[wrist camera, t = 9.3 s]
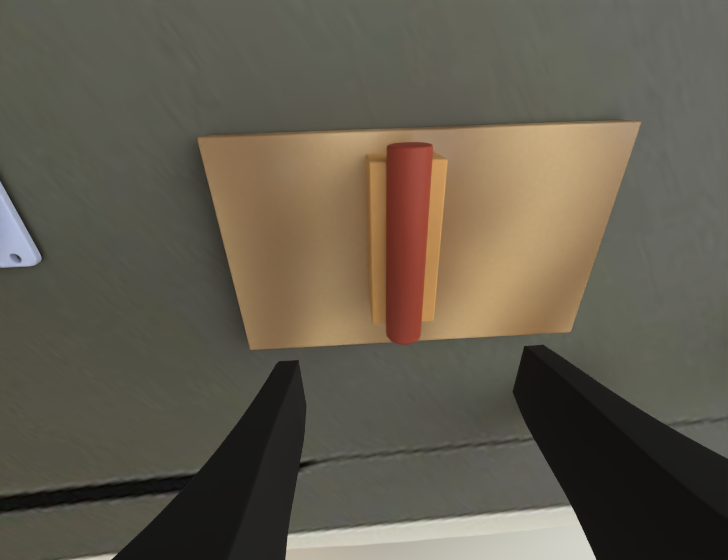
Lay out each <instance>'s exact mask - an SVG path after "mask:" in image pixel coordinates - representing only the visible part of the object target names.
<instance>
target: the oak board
mask: <svg viewBox="0 0 728 560" xmlns="http://www.w3.org/2000/svg"><path fill="white" fill-rule="evenodd" d="M640 125H641V122H640V121H633V120H604V121H576V122H549V123H522V124H494V125H467V126H439V127H412V128H384V129H357V130H330V131H302V132H275V133H247V134H220V135H205V136H201V137H198V138H197V141H198V145H199V149H200V153H201V156H202V160H203V164H204V168H205V172H206V176H207V180H208V184H209V188H210V192H211V196H212V200H213V204H214V208H215V212H216V216H217V220H218V224H219V228H220V232H221V236H222V240H223V244H224V248H225V252H226V256H227V260H228V264H229V267H230V271H231V275H232V279H233V283H234V287H235V291H236V295H237V299H238V303H239V307H240V311H241V315H242V319H243V323H244V327H245V331H246V335H247V339H248V343H249V347H250V350H259V349H277V348H295V347H313V346H331V345H349V344H367V343H385V342H392V341H391V340H390V339H389V338H388V337H387V335H386V324H373V323H372V318H371V309H370V299H369V260H368V221H367V181H366V155H367V154H386V148H387V145H389V144H393V143H401V142H424V143H430V144H432V145H433V152H436V153H437V154H439V155H441V156H442V157H444V158H446V159H447V160H448V163H447V174H446V185H445V197H444V208H443V220H442V231H441V242H440V254H439V265H438V276H437V288H436V299H435V310H434V320H433V321H427V322H422V324H421V336H420V338H419V339H418V340H417V341H420V340H438V339H456V338H474V337H492V336H510V335H528V334H546V333H564V332H570V331H571V329H572V326H573V323H574V320H575V317H576V314H577V311H578V308H579V305H580V302H581V299H582V296H583V293H584V290H585V288H586V285H587V282H588V279H589V276H590V273H591V270H592V267H593V264H594V261H595V258H596V255H597V252H598V249H599V246H600V243H601V240H602V237H603V234H604V231H605V229H606V226H607V223H608V220H609V217H610V214H611V211H612V208H613V205H614V202H615V199H616V196H617V193H618V190H619V187H620V184H621V181H622V178H623V175H624V172H625V170H626V167H627V164H628V161H629V158H630V155H631V152H632V149H633V146H634V143H635V140H636V137H637V134H638V131H639V128H640Z"/></svg>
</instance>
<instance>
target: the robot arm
mask: <svg viewBox="0 0 728 560" xmlns="http://www.w3.org/2000/svg"><path fill="white" fill-rule="evenodd" d="M17 255H18V256H19V257H20V258H21V259H20V258H19V257H18V256H17ZM41 259H42V258H41V255H40V253H39V251H38V249H37V247H36V245H35V244H34V242H33V240H32V238H31V236H30V235H29V233H28V231H27V229H26V227H25V225H24V224H23V222H22V220H21V218H20V216H19V214H18V213H17V211H16V209H15V207H14V205H13V204H12V202H11V200H10V198H9V196H8V194H7V193H6V191H5V189H4V187H3V185H2V183H1V182H0V268H4V267H25V266H34V265H36V264H38V263H39V262H41ZM513 394H514V397H515V399H516V402H517V404H518V407H519V409H520V412H521V414H522V416H523V419H524V421H525V423H526V425H527V427H528V429H529V430H530V432H531V434H532V436H533V438H534V439H535V441H536V443H537V445H538V447H539V448H540V450H541V452H542V454H543V455H544V457H545V459H546V461H547V462H548V464H549V466H550V468H551V470H552V471H553V473H554V475H555V477H556V478H557V480H558V482H559V484H560V485H561V487H562V489H563V491H564V492H565V494H566V496H567V498H568V500H569V502H570V504H571V506H572V508H573V509H574V511H575V513H576V516H577V518H578V520H579V522H580V524H581V526H582V529H583V531H584V533H585V535H586V537H587V540H588V542H589V544H590V546H591V548H592V550H593V553H594V555H595V557H596V560H728V459H727V458H725V457H723V456H721V455H719V454H717V453H716V452H714V451H712V450H710V449H708V448H706V447H704V446H703V445H701V444H699V443H697V442H695V441H693V440H692V439H690V438H688V437H686V436H684V435H683V434H681V433H679V432H677V431H675V430H674V429H672V428H670V427H668V426H667V425H665V424H663V423H662V422H660V421H658V420H657V419H655V418H653V417H652V416H650V415H649V414H647V413H645V412H644V411H642V410H640V409H639V408H637V407H636V406H634V405H632V404H631V403H629V402H628V401H626V400H625V399H623V398H621V397H620V396H618V395H617V394H615V393H614V392H612V391H611V390H609V389H608V388H606V387H605V386H603V385H602V384H600V383H599V382H597V381H596V380H594V379H593V378H591V377H590V376H589V375H587V374H586V373H584V372H583V371H581V370H580V369H578V368H577V367H575V366H574V365H573V364H571V363H570V362H568V361H567V360H565V359H564V358H562V357H561V356H559V355H558V354H556V353H555V352H553V351H552V350H550V349H549V348H547V347H546V346H544V345H535V346H524V350H523V354H522V357H521V361H520V365H519V369H518V373H517V377H516V381H515V385H514V389H513ZM305 419H306V401H305V395H304V389H303V383H302V378H301V372H300V366H299V360H295V361H279V362H278V363H277V364H276V365H275V367H274V369H273V370H272V372H271V374H270V375H269V377H268V379H267V380H266V382H265V383H264V385H263V387H262V388H261V390H260V391H259V393H258V394H257V396H256V397H255V399H254V400H253V402H252V403H251V405H250V406H249V407H248V409H247V410H246V412H245V413H244V415H243V416H242V418H241V419H240V420H239V422H238V423H237V424H236V426H235V427H234V428H233V430H232V431H231V432H230V434H229V435H228V436H227V437H226V439H225V440H224V441H223V443H222V444H221V445H220V447H219V448H218V449H217V450H216V452H215V453H214V454H213V455H212V456H211V458H210V459H209V460H208V461H207V462H206V464H205V465H204V466H203V467H202V468H201V469H200V471H199V472H198V473H197V474H196V475H195V476H194V477H193V478H192V480H191V481H190V482H189V483H188V484H187V485H186V486H185V487H184V488H183V489H182V491H181V492H180V493H179V494H178V495H177V496H176V497H175V498H174V499H173V500H172V501H171V502H170V503H169V504H168V505H167V506H166V507H165V508H164V510H163V511H162V512H161V513H160V514H159V515H158V516H157V517H156V518H155V519H154V520H153V521H152V522H151V523H150V524H149V525H148V526H147V527H146V528H145V529H144V530H143V531H141V532H140V533H139V534H138V535H137V536H136V537H135V538H134V539H133V540H132V541H131V542H130V543H129V544H128V545H127V546H125V547H124V548H123V549H122V550H121V551H120V552H119V553H118V554H117V555H116V556H115V557H114V558H113V559H112V560H285V556H286V546H287V536H288V528H289V521H290V514H291V509H292V503H293V498H294V492H295V487H296V481H297V476H298V470H299V464H300V459H301V453H302V447H303V441H304V433H305Z"/></svg>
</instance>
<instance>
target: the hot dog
mask: <svg viewBox="0 0 728 560" xmlns="http://www.w3.org/2000/svg"><path fill="white" fill-rule="evenodd" d="M447 163H448V160H447V159H446V158H444V157H442V156H441V155H439V154H437V153H436V152H433V145H432V144H430V143H424V142H401V143H393V144H389V145H387V148H386V154H367V155H366V181H367V221H368V260H369V299H370V309H371V318H372V323H373V324H386V335H387V337H388V338H389V339H390V340H391V341H392V342H394V343H397V344H411V343H414V342H416V341H417V340H418V339H419V338H420V336H421V324H422V322H427V321H433V320H434V310H435V299H436V288H437V276H438V265H439V254H440V242H441V231H442V220H443V208H444V197H445V185H446V174H447Z"/></svg>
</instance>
